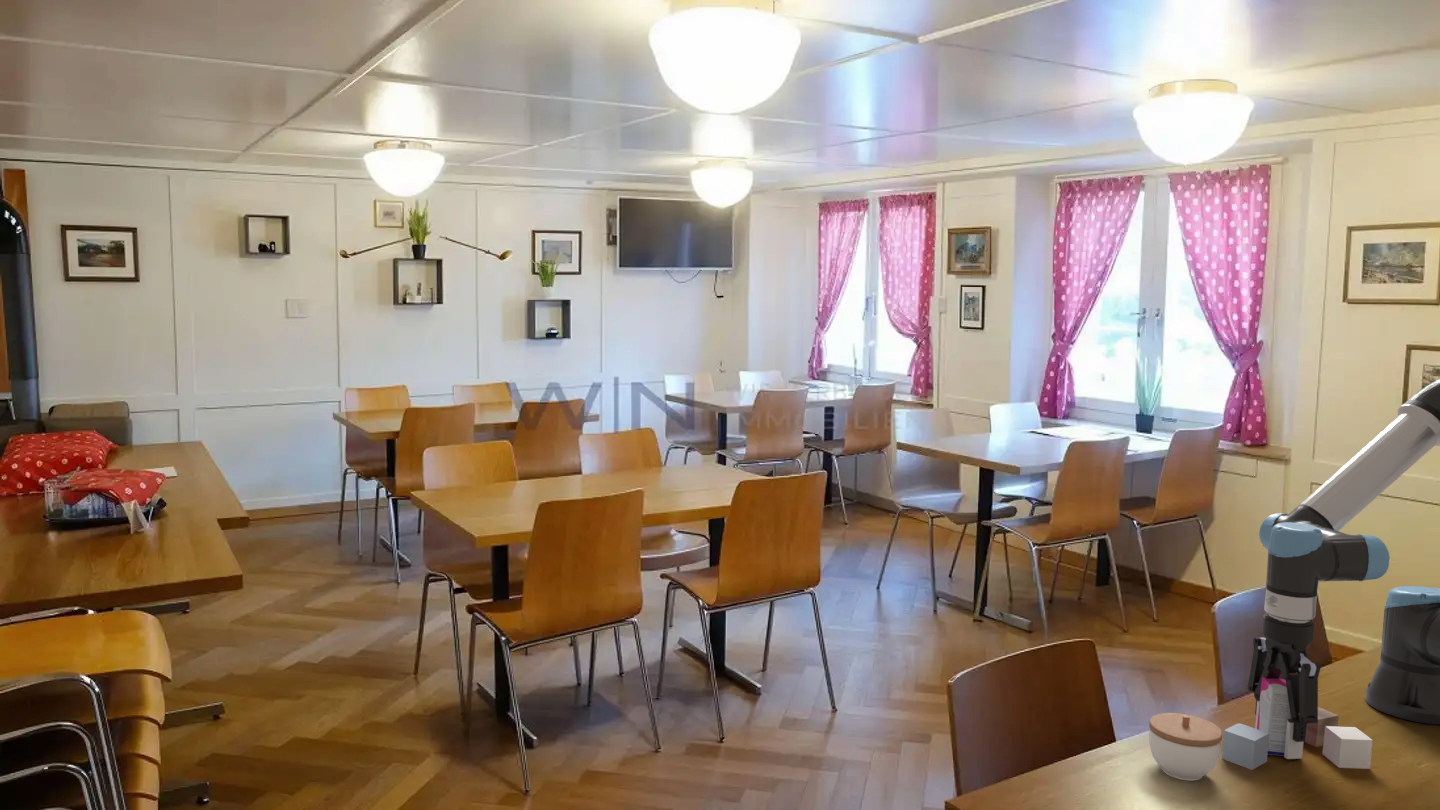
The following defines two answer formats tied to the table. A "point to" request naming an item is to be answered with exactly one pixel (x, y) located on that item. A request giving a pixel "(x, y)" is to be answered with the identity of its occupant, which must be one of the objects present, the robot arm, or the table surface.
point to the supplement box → (1274, 713)
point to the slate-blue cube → (1245, 746)
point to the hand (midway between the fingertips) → (1277, 747)
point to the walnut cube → (1320, 727)
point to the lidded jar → (1184, 745)
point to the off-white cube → (1347, 747)
